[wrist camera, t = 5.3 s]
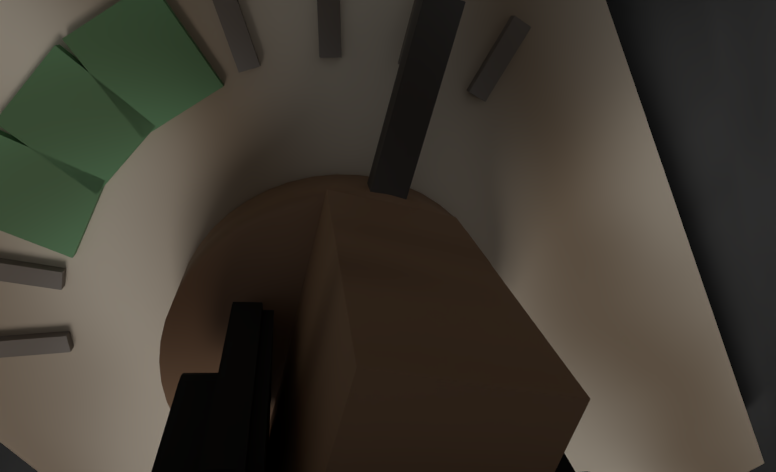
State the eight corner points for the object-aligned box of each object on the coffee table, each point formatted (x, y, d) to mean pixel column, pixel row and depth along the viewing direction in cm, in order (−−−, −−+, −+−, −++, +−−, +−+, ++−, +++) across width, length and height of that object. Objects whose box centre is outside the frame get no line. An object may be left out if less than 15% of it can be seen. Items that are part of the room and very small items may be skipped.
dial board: (364, -554, 8) (381, -681, 7) (729, 428, 18) (769, 468, 17) (-427, 12, 9) (-567, 15, 8) (321, 645, 19) (324, 701, 18)
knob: (438, 458, 14) (539, 781, 8) (156, 431, 13) (33, 811, 7) (599, 48, 11) (976, 109, 5) (233, -68, 9) (116, -194, 3)
